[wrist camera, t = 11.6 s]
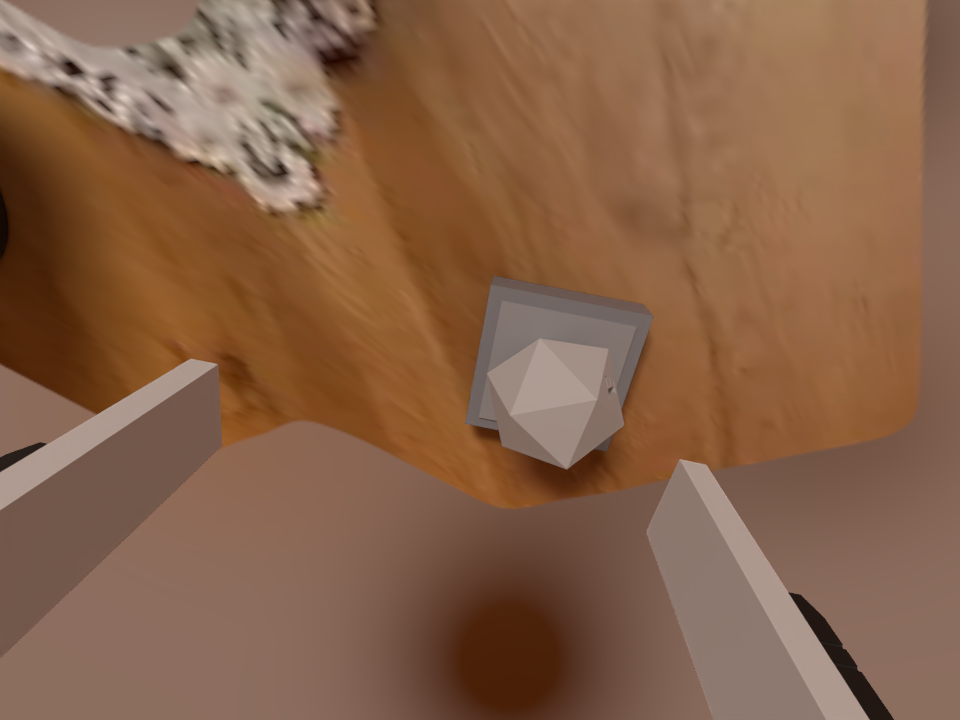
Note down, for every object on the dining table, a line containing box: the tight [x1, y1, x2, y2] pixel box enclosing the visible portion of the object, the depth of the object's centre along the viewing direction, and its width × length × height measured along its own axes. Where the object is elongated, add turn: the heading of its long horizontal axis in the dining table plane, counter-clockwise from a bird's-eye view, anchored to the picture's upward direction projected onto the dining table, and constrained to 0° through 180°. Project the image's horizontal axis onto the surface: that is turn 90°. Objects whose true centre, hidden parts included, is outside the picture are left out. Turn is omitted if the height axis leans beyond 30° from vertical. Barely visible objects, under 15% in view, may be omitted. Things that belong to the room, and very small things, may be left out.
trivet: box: [465, 276, 653, 452], centre depth 36 cm, size 12×12×3 cm
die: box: [487, 338, 624, 469], centre depth 31 cm, size 8×9×10 cm
